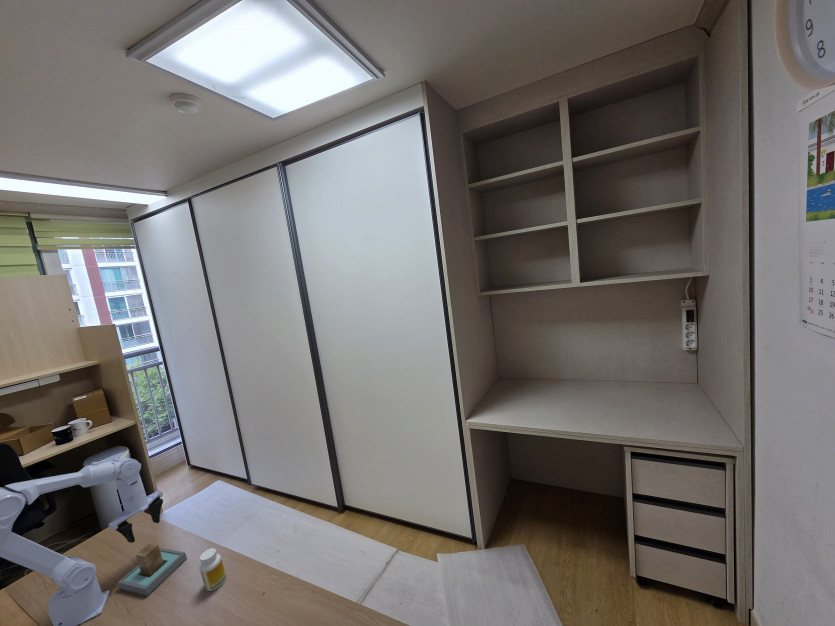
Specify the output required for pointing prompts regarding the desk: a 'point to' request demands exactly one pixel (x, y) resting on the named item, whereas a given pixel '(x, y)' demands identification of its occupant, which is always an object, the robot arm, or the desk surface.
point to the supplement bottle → (212, 569)
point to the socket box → (148, 585)
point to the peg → (149, 560)
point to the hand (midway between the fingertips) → (144, 531)
